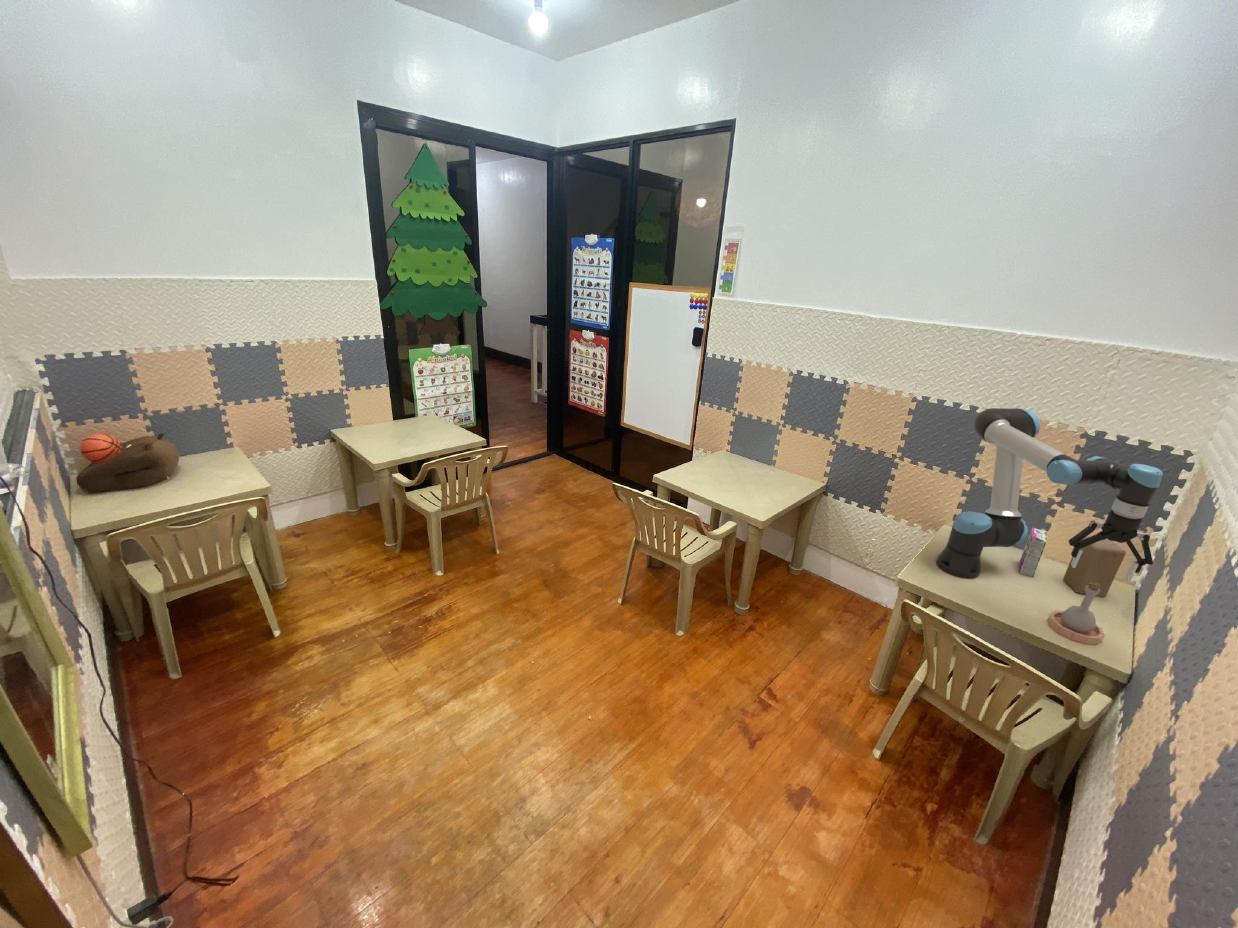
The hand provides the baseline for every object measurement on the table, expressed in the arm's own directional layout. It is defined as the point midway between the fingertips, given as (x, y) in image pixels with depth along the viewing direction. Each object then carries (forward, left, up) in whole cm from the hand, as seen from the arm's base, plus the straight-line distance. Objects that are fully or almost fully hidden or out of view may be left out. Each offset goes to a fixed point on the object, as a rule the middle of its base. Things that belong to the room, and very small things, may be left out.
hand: (1099, 572), depth 168 cm
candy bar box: (-10, +38, -23) cm, 45 cm away
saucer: (0, 0, -23) cm, 23 cm away
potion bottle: (0, 0, -22) cm, 22 cm away
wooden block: (+8, +35, -23) cm, 43 cm away
